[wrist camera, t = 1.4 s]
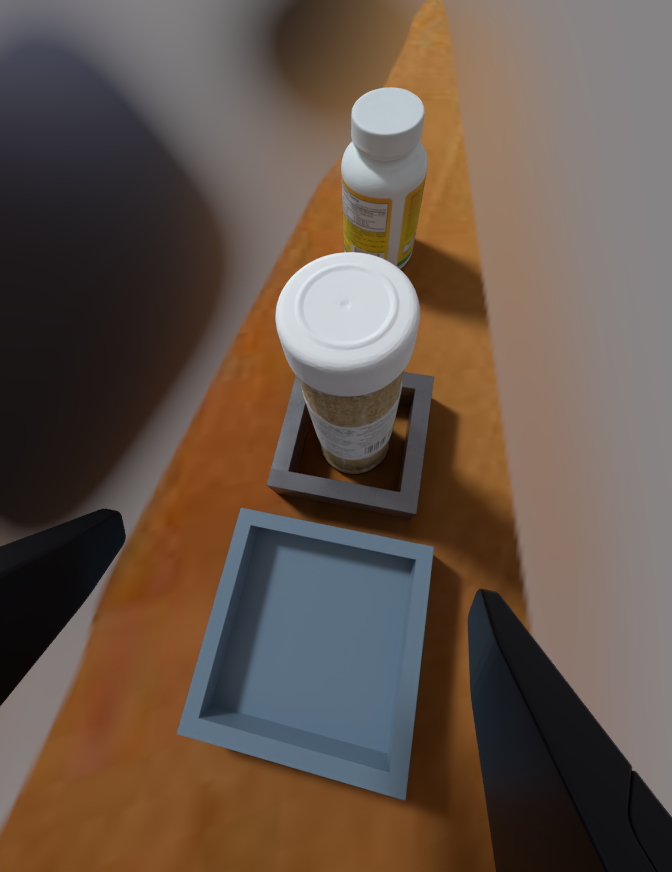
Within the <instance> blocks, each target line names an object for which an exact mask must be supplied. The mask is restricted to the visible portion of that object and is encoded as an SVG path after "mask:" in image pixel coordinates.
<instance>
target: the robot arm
mask: <svg viewBox="0 0 672 872" xmlns="http://www.w3.org/2000/svg"><path fill="white" fill-rule="evenodd" d="M125 538H126V534H125V529H124V525H123V520H122V516H121V514H120V512H118V511H115V510H110V509H100V510H97V511H95V512H92V513H89V514H86V515H84V516H81V517H79V518H76V519H73V520H71V521H68V522H65V523H62V524H60V525H57V526H54V527H52V528H49V529H46V530H43V531H41V532H38V533H35V534H33V535H30V536H27V537H25V538H22V539H19V540H17V541H14V542H11V543H9V544H6V545H3V546H1V547H0V706H1V705H2V703H3V702H4V701H5V700H6V699H7V697H8V696H9V695H10V694H11V692H12V691H13V690H14V689H15V687H16V686H17V685H18V684H19V682H20V681H21V680H22V678H23V677H24V676H25V675H26V674H27V673H28V671H29V670H30V669H31V667H32V666H33V665H34V664H35V663H36V661H37V660H38V659H39V658H40V656H41V655H42V654H43V653H44V651H45V650H46V649H47V648H48V647H49V645H50V644H51V643H52V642H53V640H54V639H55V638H56V637H57V635H58V634H59V633H60V632H61V630H62V629H63V628H64V627H65V625H66V624H67V623H68V622H69V621H70V619H71V618H72V617H73V616H74V614H75V613H76V612H77V611H78V609H79V608H80V607H81V606H82V604H83V603H84V602H85V600H86V599H87V597H88V596H89V595H90V593H91V592H92V591H93V589H94V588H95V586H96V585H97V583H98V582H99V580H100V579H101V577H102V576H103V574H104V573H105V571H106V570H107V568H108V567H109V565H110V564H111V562H112V561H113V559H114V558H115V556H116V555H117V553H118V552H119V551H120V549H121V548H122V546H123V544H124V542H125ZM468 644H469V669H470V690H471V701H472V709H473V715H474V722H475V729H476V736H477V743H478V750H479V757H480V764H481V771H482V777H483V784H484V791H485V798H486V805H487V812H488V819H489V826H490V833H491V839H492V846H493V853H494V860H495V867H496V872H672V817H671V815H670V814H669V813H668V812H667V810H666V809H665V808H664V807H663V805H662V804H661V803H660V802H659V800H658V799H657V798H656V796H655V795H654V794H653V793H652V791H651V790H650V789H649V787H648V786H647V785H646V783H645V782H644V781H643V780H642V778H641V777H640V776H639V775H638V773H637V772H636V771H632V766H631V764H630V763H629V762H628V760H627V759H626V758H625V757H624V755H623V754H622V753H621V752H620V750H619V749H618V747H617V746H616V745H615V744H614V742H613V741H612V740H611V738H610V737H609V736H608V734H607V733H606V732H605V731H604V729H603V728H602V727H601V725H600V724H599V723H598V722H597V720H596V719H595V718H594V716H593V715H592V714H591V712H590V711H589V710H588V709H587V707H586V706H585V705H584V703H583V702H582V701H581V700H580V698H579V697H578V696H577V694H576V693H575V692H574V690H573V689H572V688H571V686H570V685H569V684H568V682H567V681H566V680H565V679H564V677H563V676H562V675H561V673H560V672H559V671H558V670H557V668H556V667H555V666H554V664H553V663H552V662H551V660H550V659H549V658H548V657H547V655H546V654H545V653H544V651H543V650H542V649H541V647H540V646H539V645H538V644H537V642H536V641H535V640H534V638H533V637H532V636H531V634H530V633H529V632H528V631H527V629H526V628H525V627H524V625H523V624H522V623H521V621H520V620H519V619H518V618H517V616H516V615H515V614H514V612H513V611H512V610H511V608H510V607H509V606H508V605H507V603H506V602H505V601H504V599H503V598H502V597H501V596H500V594H498V593H497V592H495V591H490V590H485V589H479V590H478V591H477V593H476V595H475V598H474V600H473V603H472V606H471V608H470V611H469V614H468Z"/></svg>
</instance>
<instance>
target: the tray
mask: <svg viewBox="0 0 672 872" xmlns="http://www.w3.org/2000/svg"><path fill="white" fill-rule="evenodd" d="M433 550H434V547H432V546H427V545H422V544H417V543H412V542H407V541H402V540H397V539H392V538H388V537H383V536H378V535H373V534H368V533H363V532H358V531H353V530H348V529H343V528H338V527H333V526H328V525H324V524H319V523H314V522H309V521H304V520H299V519H294V518H289V517H284V516H279V515H274V514H269V513H264V512H259V511H255V510H250V509H245V508H241V509H240V513H239V516H238V520H237V523H236V527H235V530H234V534H233V537H232V541H231V545H230V548H229V552H228V555H227V559H226V562H225V566H224V569H223V573H222V576H221V580H220V583H219V587H218V590H217V594H216V597H215V601H214V604H213V608H212V611H211V615H210V619H209V622H208V626H207V629H206V633H205V636H204V640H203V643H202V647H201V650H200V654H199V657H198V661H197V664H196V668H195V671H194V675H193V678H192V682H191V686H190V689H189V693H188V696H187V700H186V703H185V707H184V710H183V714H182V717H181V721H180V724H179V728H178V731H177V734H179V735H183V736H186V737H190V738H193V739H197V740H200V741H203V742H207V743H210V744H214V745H217V746H220V747H224V748H227V749H231V750H234V751H237V752H241V753H244V754H248V755H251V756H255V757H258V758H261V759H265V760H268V761H272V762H275V763H278V764H282V765H285V766H289V767H292V768H296V769H299V770H302V771H306V772H309V773H313V774H316V775H319V776H323V777H326V778H330V779H333V780H336V781H340V782H343V783H347V784H350V785H354V786H357V787H360V788H364V789H367V790H371V791H374V792H377V793H381V794H384V795H388V796H391V797H394V798H398V799H401V800H406V791H407V783H408V774H409V765H410V756H411V747H412V738H413V729H414V720H415V711H416V702H417V693H418V684H419V675H420V666H421V657H422V648H423V639H424V630H425V622H426V613H427V604H428V595H429V586H430V577H431V568H432V559H433Z"/></svg>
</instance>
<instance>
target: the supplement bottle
mask: <svg viewBox="0 0 672 872" xmlns="http://www.w3.org/2000/svg"><path fill="white" fill-rule="evenodd" d="M423 121H424V105H423V103H422V101H421V100H420V99H419V98H418V97H417V96H416V95H414V94H413V93H411V92H409V91H407V90H404V89H400V88H380V89H376V90H373V91H370V92H368V93H366V94H364V95H363V96H361V97H360V98H359V99H358V100H357V101H356V103H355V104H354V106H353V109H352V131H351V135H352V140H353V141H352V142H351V143H350V144H349V146H348V147H347V149H346V151H345V153H344V155H343V159H342V165H341V174H342V198H343V220H344V246H345V252H356V253H365V254H370V255H374V256H377V257H380V258H382V259H384V260H386V261H388V262H390V263H392V264H393V265H395V266H396V267H397V268H399V269H401V268H402V267H404V265H405V264H406V263H407V262H408V261H409V259H410V257H411V255H412V251H413V246H414V240H415V235H416V229H417V224H418V218H419V212H420V207H421V201H422V195H423V190H424V184H425V179H426V173H427V165H428V160H427V154H426V151H425V148H424V146H423V145H422V143H421V142H420V139H421V137H422V130H423Z"/></svg>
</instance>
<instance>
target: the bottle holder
mask: <svg viewBox="0 0 672 872" xmlns="http://www.w3.org/2000/svg"><path fill="white" fill-rule="evenodd" d="M433 382H434V376H427V375H420V374H413V373H406V372H403V376H402V389H401V394H400V399H399V403H398V404H403V405H409V406H410V411H409V417H408V424H407V431H406V437H405V444H404V451H403V457H402V464H401V471H400V478H399V484H398V491H397V492H396V491H391V490H385V489H380V488H375V487H369V486H364V485H358V484H353V483H348V482H342V481H337V480H332V479H326V478H321V477H316V476H310V475H305V474H299V473H298V468H299V464H300V460H301V456H302V452H303V448H304V444H305V439H306V435H307V431H308V427H309V423H310V419H311V416H310V413H309V411H308V408H307V405H306V402H305V399H304V396H303V392H302V387H301V383H300V381H299V378H298V376H297V375H296V377H295V381H294V385H293V389H292V392H291V396H290V400H289V404H288V407H287V411H286V415H285V419H284V422H283V426H282V430H281V434H280V437H279V441H278V445H277V449H276V452H275V456H274V460H273V464H272V467H271V471H270V475H269V479H268V482H267V486H268V487H270V488H271V489H272V490H273V491H274V492H276V493H277V494H283V495H288V496H293V497H298V498H303V499H308V500H313V501H318V502H324V503H329V504H334V505H339V506H344V507H349V508H354V509H359V510H365V511H370V512H375V513H380V514H385V515H390V516H395V517H400V518H406V519H411V518H412V517H414V516H415V515H416V512H417V505H418V497H419V489H420V482H421V474H422V466H423V459H424V451H425V443H426V436H427V428H428V420H429V413H430V405H431V397H432V389H433Z"/></svg>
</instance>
